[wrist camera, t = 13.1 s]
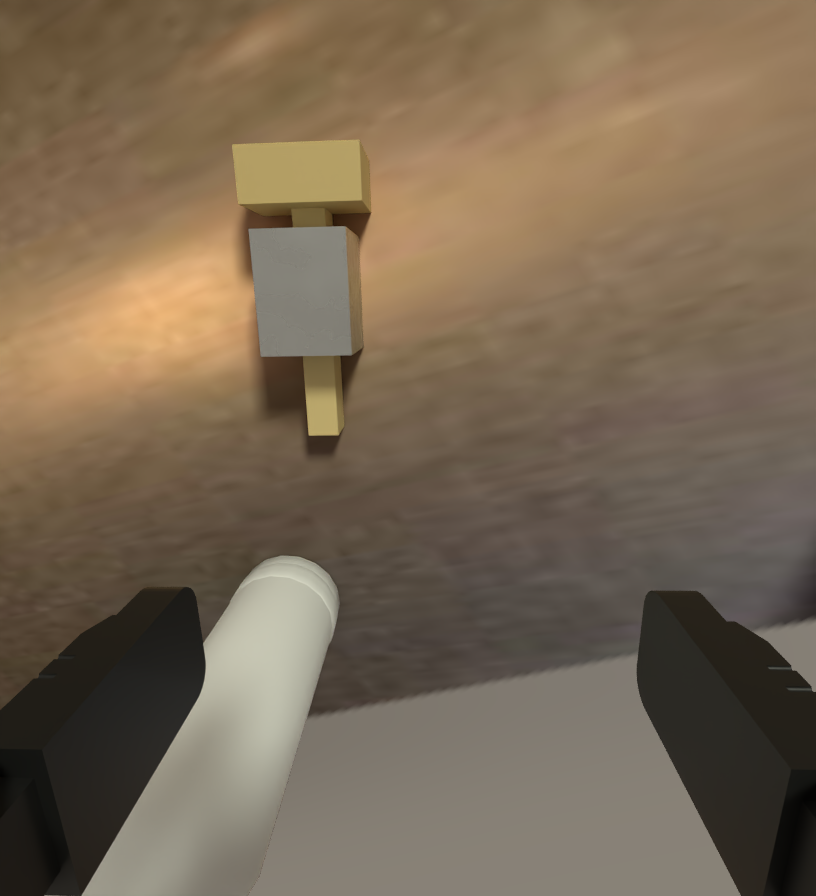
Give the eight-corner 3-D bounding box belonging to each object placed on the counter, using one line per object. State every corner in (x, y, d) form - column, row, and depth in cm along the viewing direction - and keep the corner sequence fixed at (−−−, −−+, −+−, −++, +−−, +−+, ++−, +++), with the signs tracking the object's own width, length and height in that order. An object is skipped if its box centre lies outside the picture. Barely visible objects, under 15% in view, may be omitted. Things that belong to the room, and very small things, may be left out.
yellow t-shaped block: (369, 160, 32) (359, 139, 28) (379, 426, 37) (372, 442, 33) (258, 164, 33) (232, 144, 29) (282, 427, 38) (262, 443, 33)
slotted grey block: (358, 237, 34) (345, 226, 29) (363, 346, 36) (351, 355, 30) (276, 239, 34) (248, 228, 29) (285, 348, 36) (260, 356, 31)
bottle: (222, 597, 42) (-247, 1268, 13) (284, 533, 40) (-100, 1146, 11) (298, 658, 43) (25, 1392, 14) (361, 598, 41) (197, 1301, 12)
